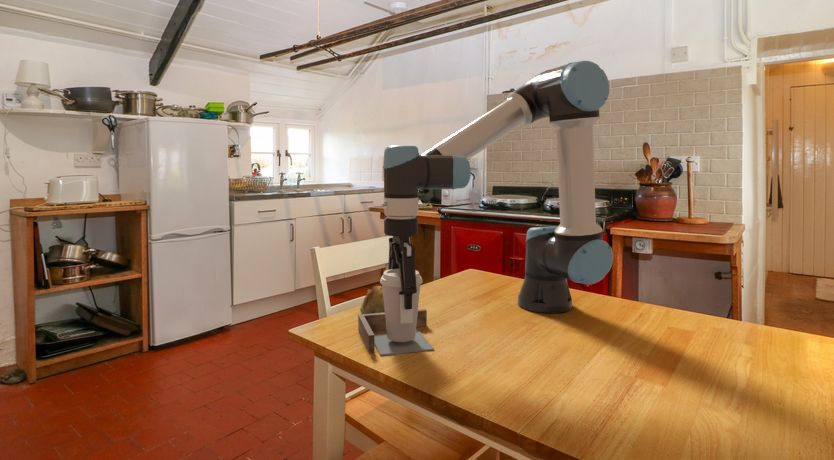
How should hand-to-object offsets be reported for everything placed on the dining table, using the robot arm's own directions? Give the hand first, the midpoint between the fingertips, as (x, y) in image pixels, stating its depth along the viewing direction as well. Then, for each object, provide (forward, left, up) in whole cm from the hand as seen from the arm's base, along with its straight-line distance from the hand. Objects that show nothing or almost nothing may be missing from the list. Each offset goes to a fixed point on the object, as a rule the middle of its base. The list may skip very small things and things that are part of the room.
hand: (401, 315), depth 108 cm
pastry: (0, -22, -7) cm, 23 cm away
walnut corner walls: (0, -3, -7) cm, 7 cm away
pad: (0, 0, -6) cm, 6 cm away
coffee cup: (0, 0, -5) cm, 5 cm away
